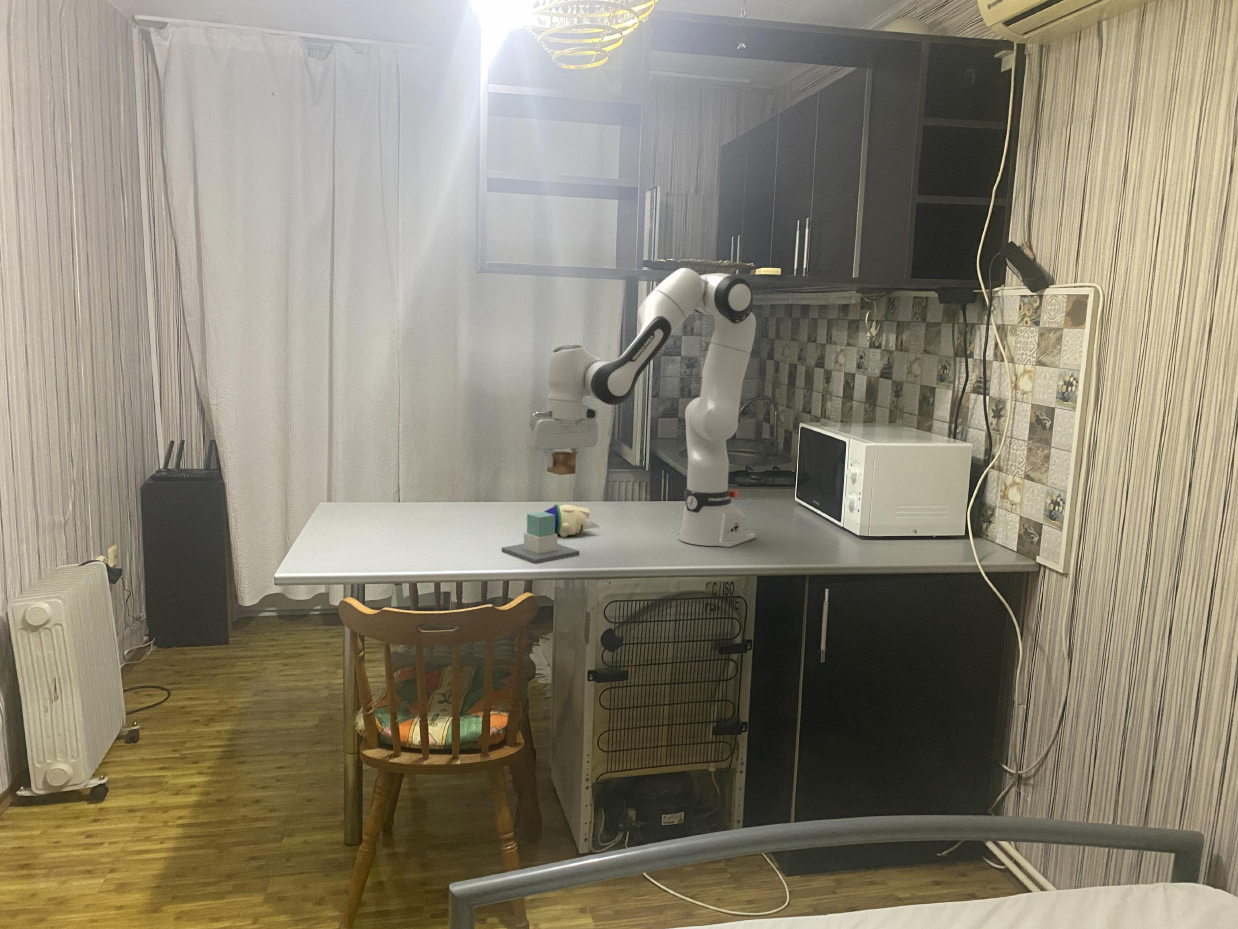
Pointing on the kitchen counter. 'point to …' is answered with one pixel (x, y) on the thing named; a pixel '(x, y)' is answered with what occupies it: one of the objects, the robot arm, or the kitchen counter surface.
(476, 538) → the kitchen counter surface
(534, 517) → the teal block
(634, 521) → the kitchen counter surface
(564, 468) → the walnut block
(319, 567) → the kitchen counter surface
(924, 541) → the kitchen counter surface
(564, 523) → the cartoon head
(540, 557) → the build board
